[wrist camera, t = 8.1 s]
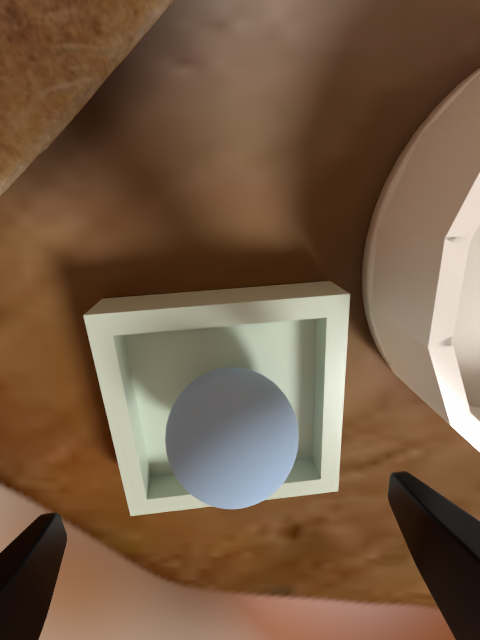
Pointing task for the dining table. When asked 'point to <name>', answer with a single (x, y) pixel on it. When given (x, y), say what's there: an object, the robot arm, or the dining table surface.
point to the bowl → (432, 262)
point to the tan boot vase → (58, 66)
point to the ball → (231, 438)
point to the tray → (215, 353)
